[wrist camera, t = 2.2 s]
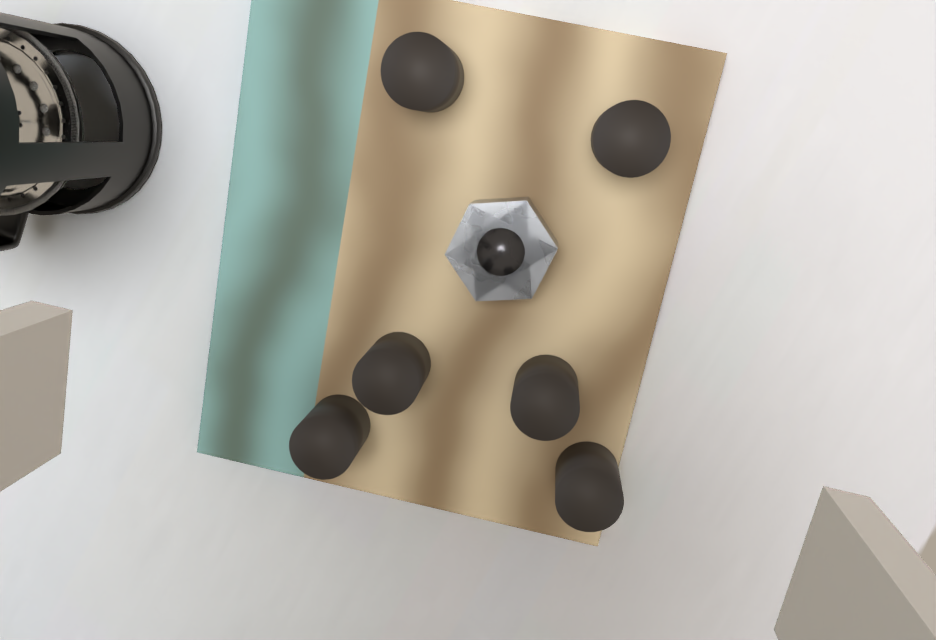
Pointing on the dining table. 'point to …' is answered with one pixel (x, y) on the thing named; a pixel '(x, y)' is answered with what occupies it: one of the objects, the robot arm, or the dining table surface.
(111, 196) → the french press
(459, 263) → the nut
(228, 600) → the dining table surface
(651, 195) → the board
